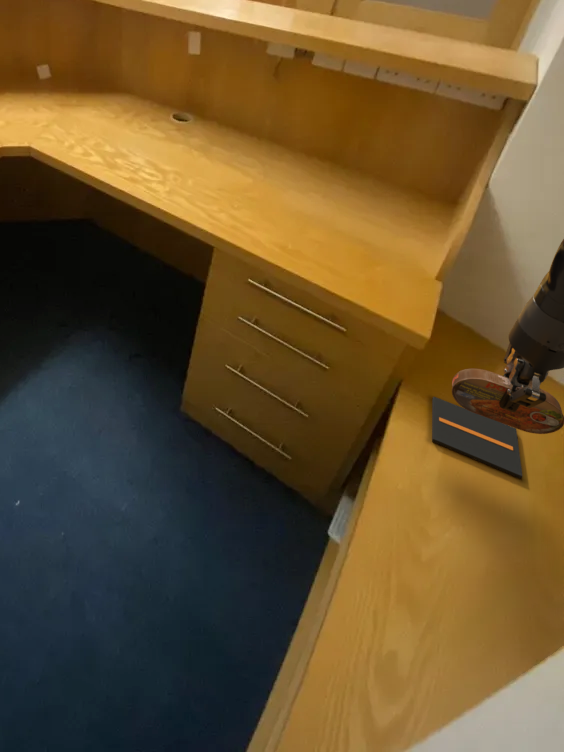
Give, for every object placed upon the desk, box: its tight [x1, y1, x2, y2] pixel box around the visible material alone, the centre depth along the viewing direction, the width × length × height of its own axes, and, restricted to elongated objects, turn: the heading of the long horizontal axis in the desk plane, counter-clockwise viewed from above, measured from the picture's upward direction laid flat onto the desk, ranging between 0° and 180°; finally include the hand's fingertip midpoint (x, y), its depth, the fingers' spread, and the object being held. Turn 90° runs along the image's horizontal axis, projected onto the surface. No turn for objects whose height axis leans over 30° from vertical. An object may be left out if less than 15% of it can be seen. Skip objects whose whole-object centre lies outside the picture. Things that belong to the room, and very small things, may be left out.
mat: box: [431, 396, 523, 479], centre depth 97 cm, size 14×10×1 cm
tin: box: [451, 368, 564, 435], centre depth 84 cm, size 15×3×8 cm, turn 62°
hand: (505, 399), depth 84 cm, fingers closed on tin, 2 cm apart
